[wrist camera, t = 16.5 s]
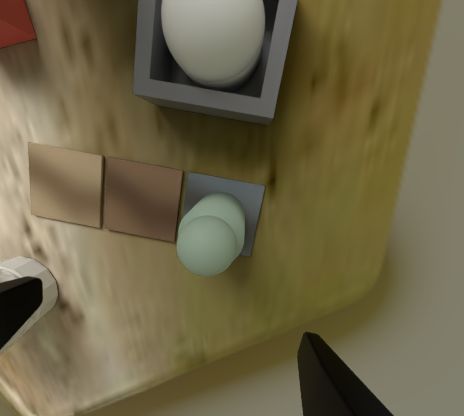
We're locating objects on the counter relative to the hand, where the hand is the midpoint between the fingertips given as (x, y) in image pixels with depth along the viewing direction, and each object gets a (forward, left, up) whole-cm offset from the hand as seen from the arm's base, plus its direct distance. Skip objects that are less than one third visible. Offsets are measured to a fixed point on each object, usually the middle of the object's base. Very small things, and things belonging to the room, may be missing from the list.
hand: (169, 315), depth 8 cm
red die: (-12, -19, -13) cm, 26 cm away
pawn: (0, 0, -13) cm, 13 cm away
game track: (0, -7, -13) cm, 15 cm away
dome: (-12, -2, -12) cm, 18 cm away
